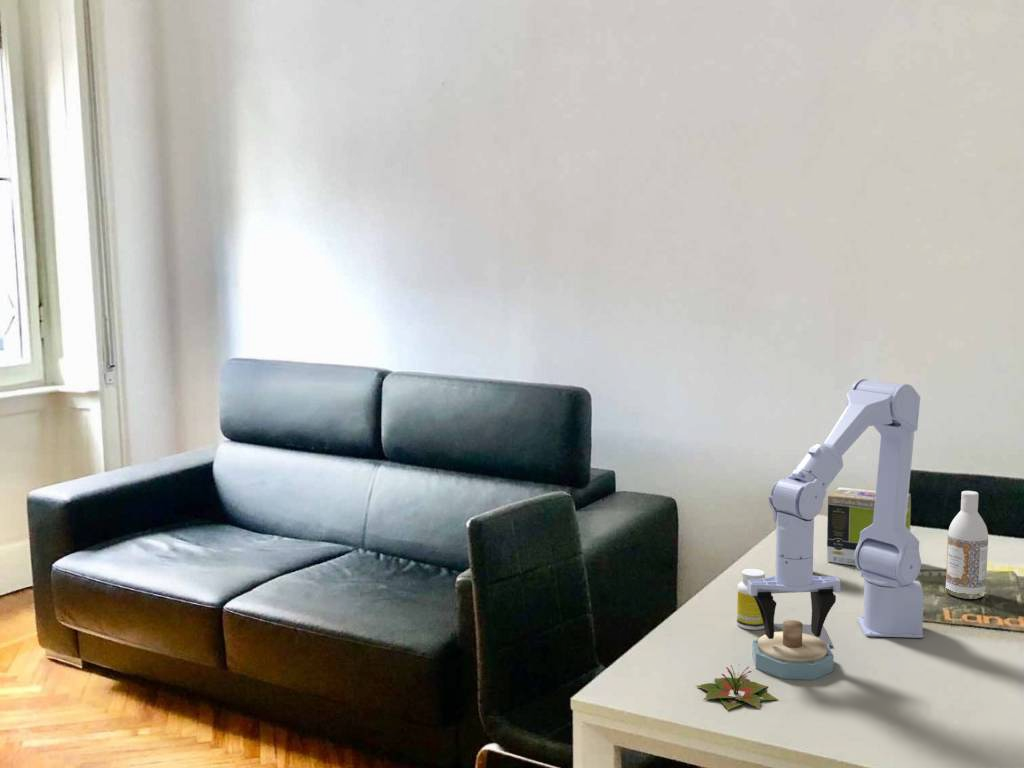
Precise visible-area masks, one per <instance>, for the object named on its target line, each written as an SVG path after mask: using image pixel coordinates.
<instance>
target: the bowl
mask: <svg viewBox="0 0 1024 768" xmlns="http://www.w3.org/2000/svg"><path fill="white" fill-rule="evenodd" d="M758 640H759V638H758V639H755V640H752V659H753V663H755V664H754V667H756V668H755V669H756V670H759V671H762V672H764V673H766V674H769V675H772V676H774V677H776V678H779V679H783V680H785V679H786V680H806V681H807V680H808V681H809V680H810V681H811V680H813V681H815V680H817V679H819V678H821V677H823V676H826V675H828V674H830V673H833V672H834V660H835V659H834V658H835V657H834V654H833V652H832V650H831V649H832V648H830V647H829V645H828V644H827V643H826V645H827V655H826V656H825V657H823V658H822V659H819V660H816V661H811V662H788V661H782V660H778V659H775V658H772V657H769V656H767V655H765V654H764V653H762V652H761V651H760V650H759V648H758Z"/></svg>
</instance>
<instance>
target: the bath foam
mask: <svg viewBox="0 0 1024 768" xmlns="http://www.w3.org/2000/svg"><path fill="white" fill-rule="evenodd" d="M960 495H961V496H960V497H961V499H960V511H959V512H958V513H957V514H956V515H955V516H954V518H953V519H952V521H951V522H950V525H949V527H948V533H947V548H946V549H947V550H946V551H947V552H946V569H945V570H946V572H945V573H946V574H945V589H946V588H947V589H949V590H951V591H953V592H957V593H966V594H978V593H982V592H984V591H985V590H986V588H987V574H988V573H987V570H988V569H987V568H988V550H989V532H988V527H987V525H986V523H985V521H984V519H983V517H982V516H981V515H980V513H979V511H978V509H979V493H978V492H977V491H975V490H974V491H973V490H963V491H961V494H960ZM986 591H987V590H986ZM986 591H985V592H986Z"/></svg>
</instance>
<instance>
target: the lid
mask: <svg viewBox="0 0 1024 768" xmlns="http://www.w3.org/2000/svg"><path fill="white" fill-rule="evenodd" d="M782 624H783V631H781V632H774V638H773V639H769V638H768V637H767V636H766V635H765V634H763V635H762V636H760V637H759V638H758V639H759V640H758V648H759V650H760V651H761V652H762V653H764V654H765V655H767V656H769V657H772V658H775V659H778V660H782V661H788V662H811V661H816V660H819V659H822V658H823V657H825V656H826V655H827V645H826V643H825V642H824V641H822V640H821V639H819V638H817V637H815V636H812V635H808V634H804V633H802V626H803V624H804V623H802V622H801V621H800V620H795V619H787V620H784V621H782Z"/></svg>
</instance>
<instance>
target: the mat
mask: <svg viewBox="0 0 1024 768" xmlns="http://www.w3.org/2000/svg"><path fill="white" fill-rule="evenodd" d="M802 624H803V626H802V633H804V634H808V635H812V636H815V635H814V634H813V633H812V631H811V624H807V623H806V624H804V623H802ZM781 631H783V623H775V622H774V632H781ZM815 637H816V636H815ZM817 638H819V639H821V640H822V641H824V642H825V643H827V644H828V645H829V647H830V649H832V648H833V644H832V642H831V640H830V638H829V635H828V633H827V631H826V629H825V627H824V625H823V627H822V631H821V635H820V637H817Z"/></svg>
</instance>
